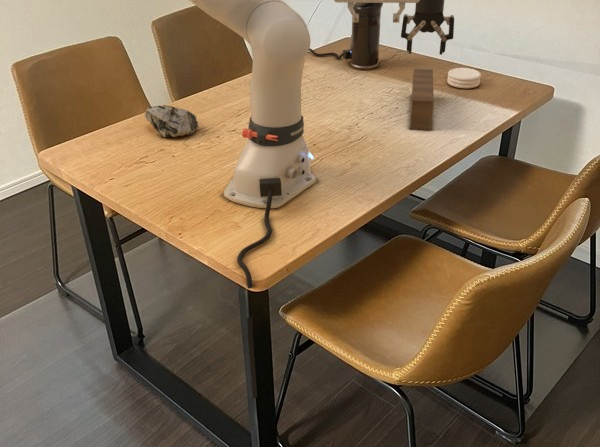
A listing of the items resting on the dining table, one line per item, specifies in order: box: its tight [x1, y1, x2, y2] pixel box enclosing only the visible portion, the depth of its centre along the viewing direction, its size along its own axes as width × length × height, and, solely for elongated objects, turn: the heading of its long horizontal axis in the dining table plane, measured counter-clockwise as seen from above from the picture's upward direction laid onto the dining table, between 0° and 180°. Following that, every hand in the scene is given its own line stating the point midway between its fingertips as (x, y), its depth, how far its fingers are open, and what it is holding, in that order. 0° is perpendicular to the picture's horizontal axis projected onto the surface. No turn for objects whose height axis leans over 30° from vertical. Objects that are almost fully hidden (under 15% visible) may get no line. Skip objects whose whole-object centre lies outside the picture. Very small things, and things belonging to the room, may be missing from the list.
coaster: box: [446, 67, 482, 89], centre depth 192 cm, size 10×10×4 cm
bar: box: [409, 68, 435, 131], centre depth 173 cm, size 25×6×8 cm, turn 170°
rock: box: [144, 104, 199, 138], centre depth 165 cm, size 15×10×7 cm
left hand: (375, 21), depth 145 cm, fingers open, 8 cm apart
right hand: (425, 53), depth 175 cm, fingers open, 8 cm apart
